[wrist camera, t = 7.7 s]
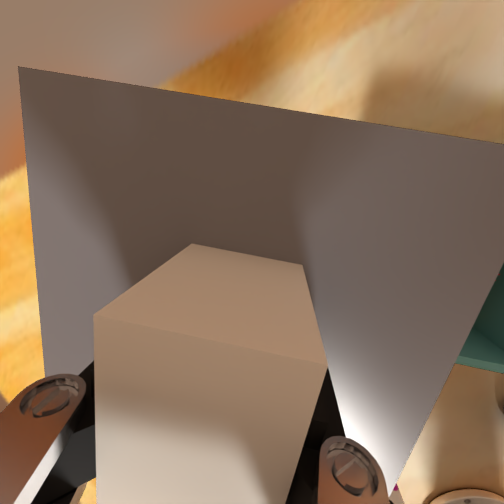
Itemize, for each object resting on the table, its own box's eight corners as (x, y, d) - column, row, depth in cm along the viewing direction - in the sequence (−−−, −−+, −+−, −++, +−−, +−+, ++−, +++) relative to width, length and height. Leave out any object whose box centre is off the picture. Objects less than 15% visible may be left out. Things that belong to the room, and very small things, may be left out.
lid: (494, 158, 9) (1116, 99, 2) (363, 470, 14) (442, 750, 7) (72, 89, 10) (-363, -99, 3) (83, 403, 15) (-87, 596, 8)
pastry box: (528, 202, 25) (636, 212, 18) (468, 328, 29) (534, 379, 22) (381, 177, 26) (422, 176, 18) (343, 302, 30) (363, 343, 23)
